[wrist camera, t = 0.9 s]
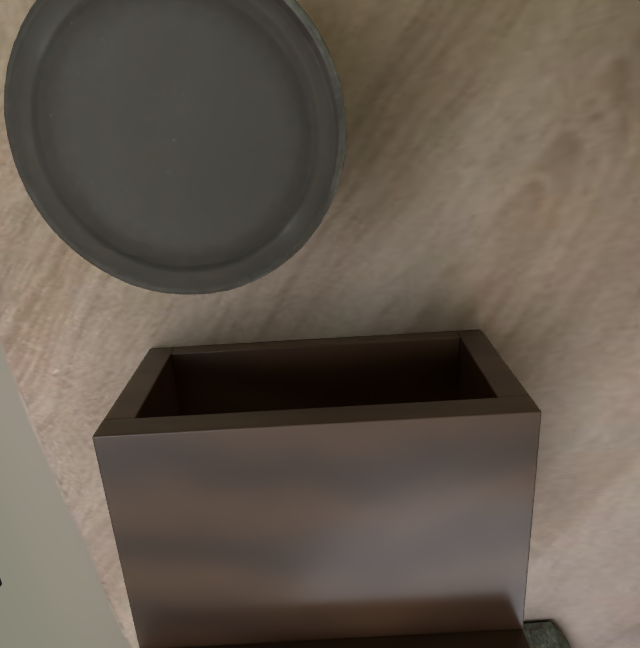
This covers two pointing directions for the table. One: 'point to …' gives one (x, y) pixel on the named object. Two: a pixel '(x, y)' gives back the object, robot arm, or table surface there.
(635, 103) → the table surface
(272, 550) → the wooden keepsake box
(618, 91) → the table surface
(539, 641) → the sword in stone
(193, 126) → the coffee can
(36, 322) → the table surface
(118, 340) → the table surface
